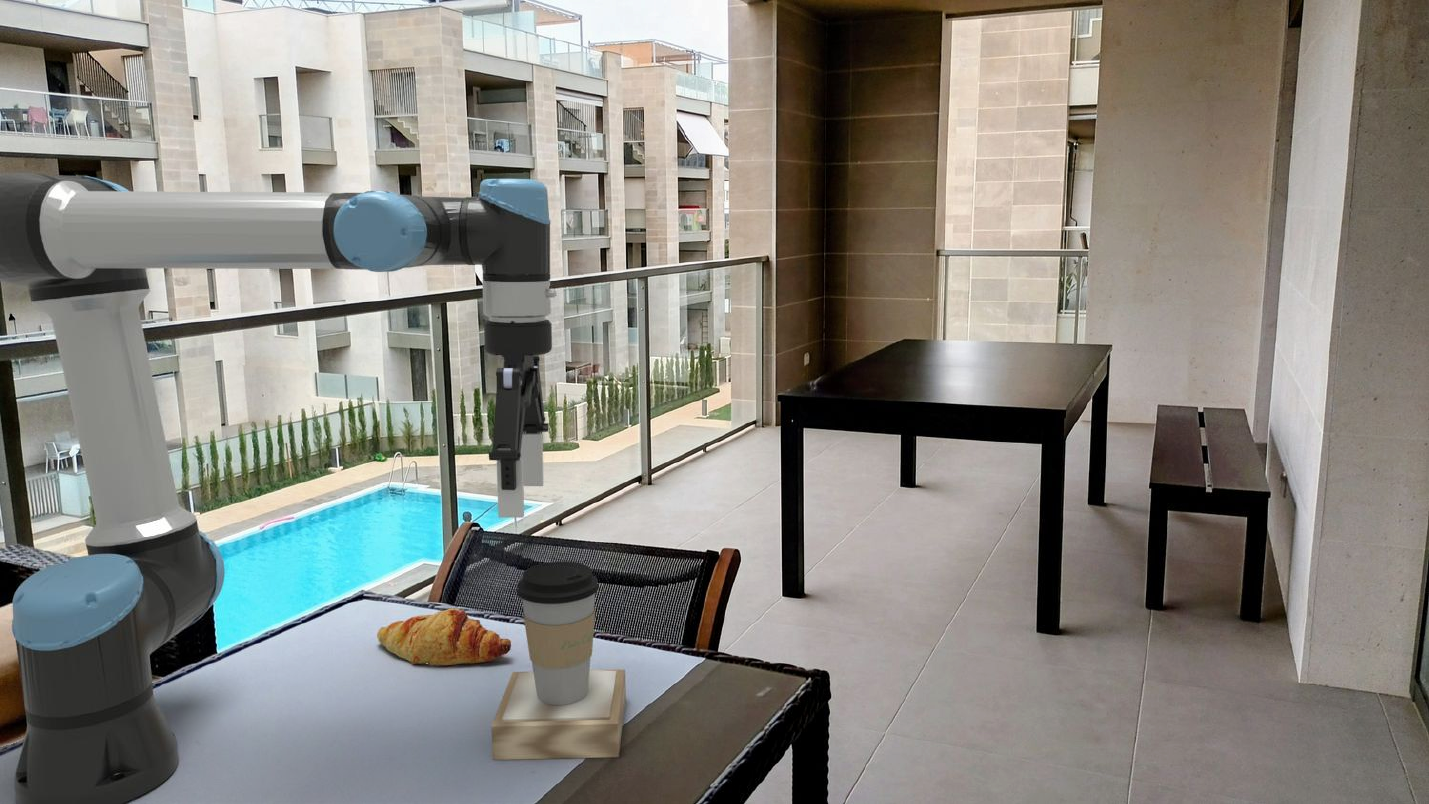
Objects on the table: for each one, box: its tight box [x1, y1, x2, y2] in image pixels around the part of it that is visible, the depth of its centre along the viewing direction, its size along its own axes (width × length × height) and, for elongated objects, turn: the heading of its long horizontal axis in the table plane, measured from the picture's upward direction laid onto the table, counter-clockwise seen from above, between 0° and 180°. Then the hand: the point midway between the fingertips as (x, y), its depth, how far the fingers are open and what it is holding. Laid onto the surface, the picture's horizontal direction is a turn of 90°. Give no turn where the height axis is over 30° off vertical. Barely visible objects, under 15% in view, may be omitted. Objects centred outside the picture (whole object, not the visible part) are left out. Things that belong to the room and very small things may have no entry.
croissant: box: [376, 607, 512, 666], centre depth 140 cm, size 21×10×8 cm, turn 74°
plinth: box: [491, 669, 627, 761], centre depth 119 cm, size 14×14×4 cm
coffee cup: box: [516, 561, 600, 706], centre depth 118 cm, size 9×9×15 cm
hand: (522, 500), depth 118 cm, fingers open, 13 cm apart
